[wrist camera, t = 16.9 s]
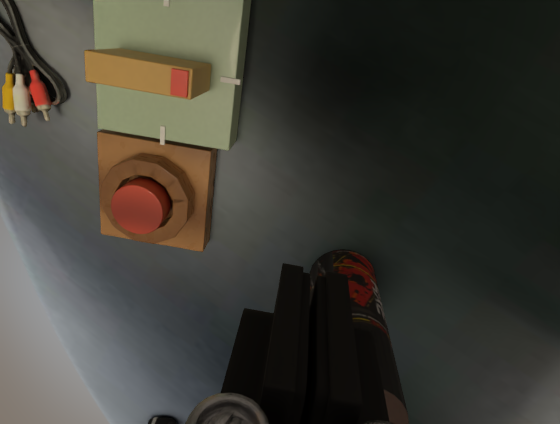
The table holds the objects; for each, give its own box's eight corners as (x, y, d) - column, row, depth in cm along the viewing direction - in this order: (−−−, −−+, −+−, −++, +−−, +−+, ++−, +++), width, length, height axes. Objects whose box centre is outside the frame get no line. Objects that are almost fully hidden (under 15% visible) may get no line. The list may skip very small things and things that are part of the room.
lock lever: (119, 75, 28) (82, 82, 24) (118, 47, 27) (81, 49, 23) (209, 91, 28) (189, 100, 24) (211, 64, 27) (191, 69, 23)
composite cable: (-21, -12, 30) (-49, -15, 27) (38, -19, 29) (14, -23, 27) (24, 122, 33) (3, 129, 31) (77, 118, 33) (60, 124, 31)
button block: (110, 125, 33) (84, 137, 29) (217, 144, 33) (205, 157, 29) (112, 223, 37) (89, 243, 33) (209, 240, 36) (197, 262, 33)
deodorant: (296, 279, 37) (283, 420, 24) (340, 237, 35) (355, 365, 21) (342, 315, 38) (356, 469, 25) (388, 276, 36) (431, 422, 23)
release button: (120, 173, 31) (109, 180, 29) (171, 182, 31) (163, 190, 29) (121, 220, 32) (111, 229, 31) (169, 228, 32) (162, 238, 31)
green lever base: (107, -52, 28) (83, -62, 25) (259, -28, 28) (252, -35, 25) (111, 124, 33) (92, 132, 30) (240, 146, 33) (232, 156, 30)
